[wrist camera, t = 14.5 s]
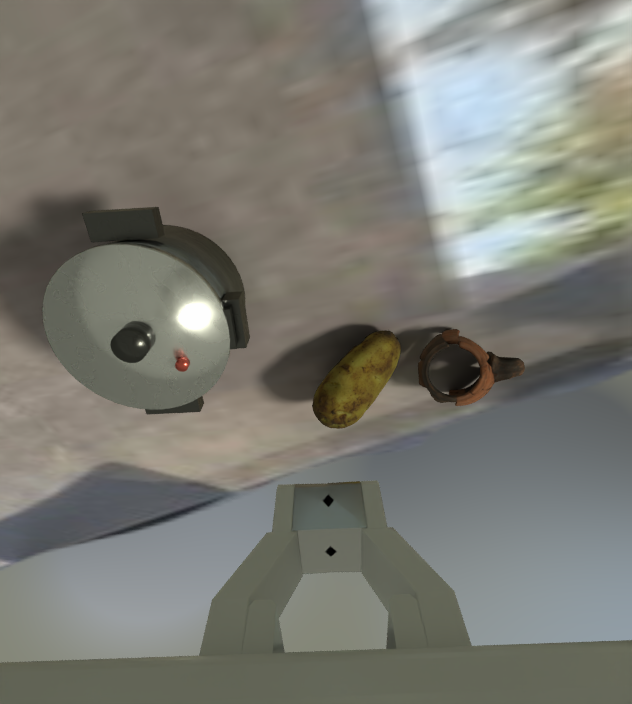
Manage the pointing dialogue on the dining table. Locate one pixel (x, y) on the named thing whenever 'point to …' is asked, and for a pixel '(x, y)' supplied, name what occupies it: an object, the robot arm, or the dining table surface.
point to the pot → (184, 245)
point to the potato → (356, 380)
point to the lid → (138, 325)
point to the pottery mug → (488, 362)
